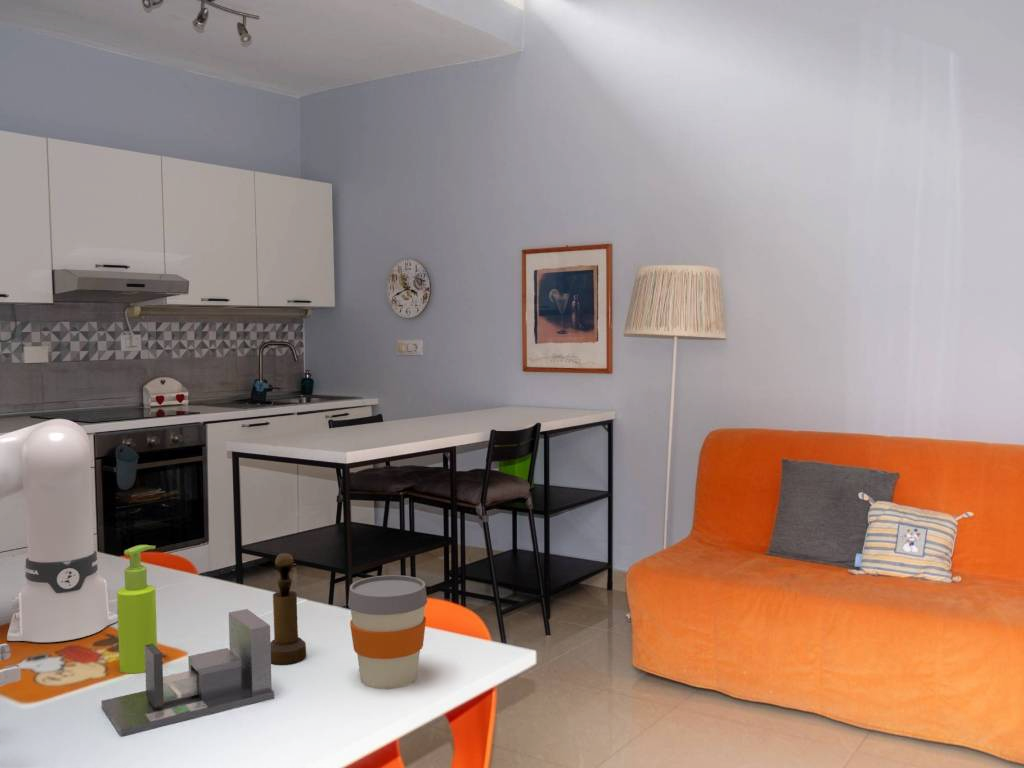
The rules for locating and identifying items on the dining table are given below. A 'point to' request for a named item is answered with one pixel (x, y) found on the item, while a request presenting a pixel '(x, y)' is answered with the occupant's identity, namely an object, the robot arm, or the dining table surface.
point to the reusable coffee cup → (388, 628)
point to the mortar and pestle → (286, 618)
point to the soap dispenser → (136, 614)
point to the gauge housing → (208, 681)
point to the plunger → (166, 680)
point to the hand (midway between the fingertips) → (14, 661)
